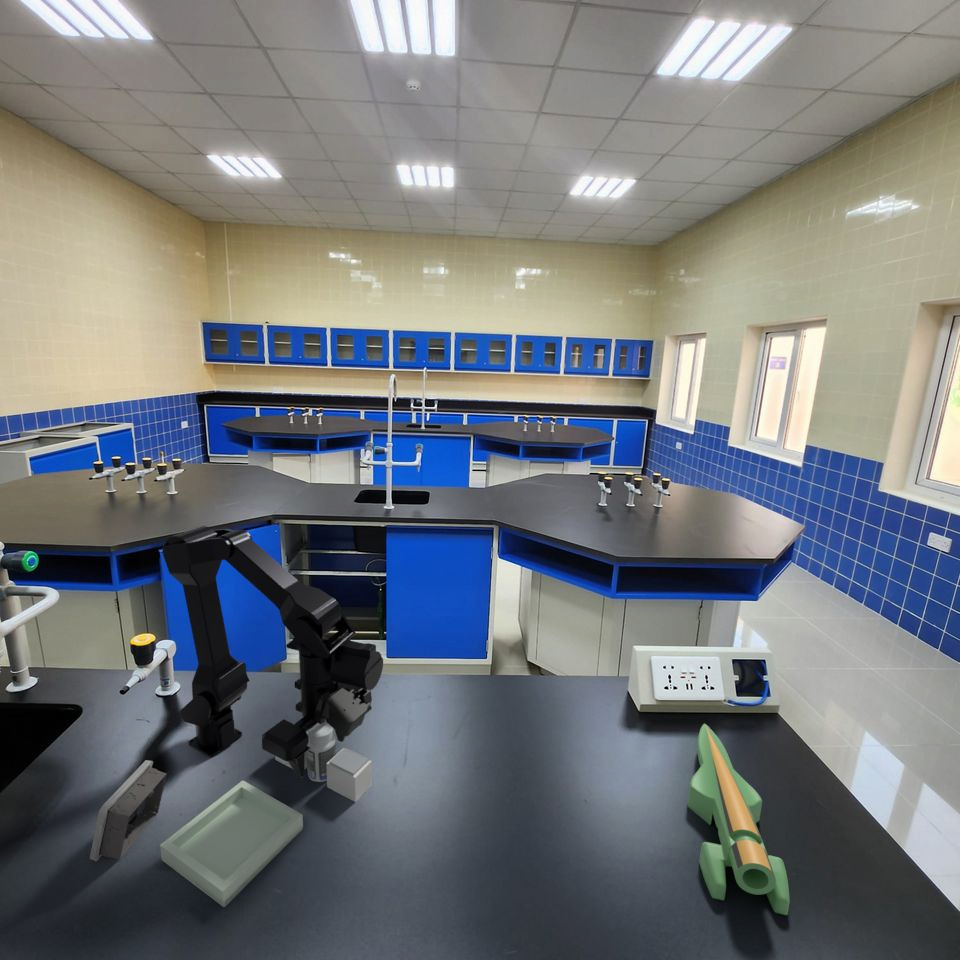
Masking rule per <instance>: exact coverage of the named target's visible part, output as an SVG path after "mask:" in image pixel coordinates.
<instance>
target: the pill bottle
mask: <svg viewBox="0 0 960 960" xmlns="http://www.w3.org/2000/svg"><path fill="white" fill-rule="evenodd" d="M334 733H335V730H334V728H333V727H332V726H330V725H329V724H328V723H327V722H326V720H325V722H323V723H322V724H318V725H317V726H315V727H314V728H313V729H312V730H310V731H309V732H308V736H309V743H308V745H307V746H308V747H310V749H308V750H307V775H308V778H309V779H310V780H311V781H313V782H316V783H317V782H318V783H323V782H327V768H326V763H327V762H328V761H330V760H331V759H332V758H333V757H334V756H335V755H336V754H337V736H336V734H334Z"/></svg>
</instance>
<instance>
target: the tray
mask: <svg viewBox="0 0 960 960" xmlns="http://www.w3.org/2000/svg"><path fill="white" fill-rule="evenodd" d="M303 830H304V820H303V814H302V813H300V812H298V811H297V810H295V809H293V808H292V807H290V806H288V805H287V804H285V803H283V802H281V801H280V800H277V799H276V798H274V797H272V796H271V795H269V794H267V793H266V792H264V791H262V790H261V789H259V788H257V787H255V786H254V785H252V784H251V783H248V782H246V781H245V780H240V782H239V783H237V784H236V785H234V786H233V787H232V788H230V790H228V791H227V792H226V793H225V794H223V795H222V796H221V797H219V798H218V799H216V801H214V802H213V803H212V804H211V805H209V806H208V807H206V808H205V809H204V810H203V811H202V812H200V813H199V814H197V815H196V816H195V817H194V818H193V819H191V820H190V821H189V822H187V824H185V825H183V826H182V827H181V828H180V829H178V830H177V831H176V832H175V833H174V834H172V835H171V836H170V837H168V838H167V839H166V840H165V841H163V842H162V843H161V844H160V845H159V847H160V848H159V849H160V857H161V861H162V862H164V863H165V864H167V866H169V867H170V868H171V869H173V870H174V871H175V872H177V873H178V874H179V875H180V876H182V877H183V878H184V879H186V880H187V881H188V882H190V883H191V884H193V885H194V886H195V887H197V888H198V889H199V890H201V892H203V893H204V894H205V895H207V896H209V898H211V899H212V900H214V902H216V903H217V904H219V905H220V906H221V907H223V908H226V907H227V906H228V904H230V902H232V900H234V898H236V897H237V896H238V895H239V894H240V893H241V891H242V890H243V889H245V887H247V886H248V885H249V883H250V882H252V881H253V879H255V878H256V876H257V875H259V873H261V872H262V870H263V869H265V868H266V866H268V864H270V863H271V861H273V859H275V857H277V856H278V855H279V854H280V853H281V852H282V851H283V849H285V848H286V846H287V845H288V844H289V843H291V841H292V840H294V839H295V837H297V836H298V835H299V834H300V833H301V832H302V831H303Z"/></svg>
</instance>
